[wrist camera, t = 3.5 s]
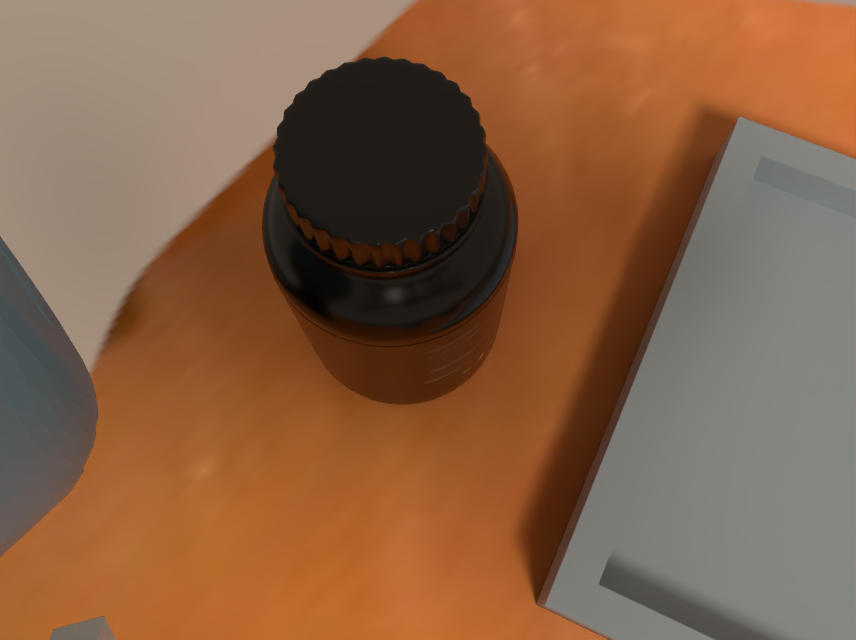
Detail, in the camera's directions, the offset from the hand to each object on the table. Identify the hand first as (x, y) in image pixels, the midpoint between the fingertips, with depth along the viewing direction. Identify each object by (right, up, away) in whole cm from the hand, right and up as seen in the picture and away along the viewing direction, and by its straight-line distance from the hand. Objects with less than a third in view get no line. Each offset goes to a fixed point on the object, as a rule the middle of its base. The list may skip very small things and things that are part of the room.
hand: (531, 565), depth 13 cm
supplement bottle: (-2, +4, +16) cm, 17 cm away
